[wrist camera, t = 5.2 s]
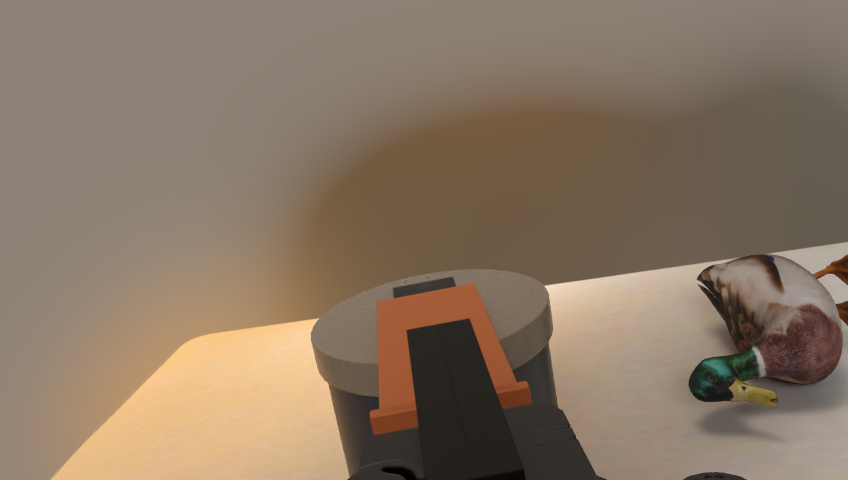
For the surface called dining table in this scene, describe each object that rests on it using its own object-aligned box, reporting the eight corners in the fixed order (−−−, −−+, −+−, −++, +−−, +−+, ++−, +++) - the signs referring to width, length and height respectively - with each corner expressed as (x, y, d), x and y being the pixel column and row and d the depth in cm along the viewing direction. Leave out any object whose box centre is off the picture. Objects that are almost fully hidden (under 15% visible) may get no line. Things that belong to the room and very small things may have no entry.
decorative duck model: (735, 359, 41) (572, 285, 54) (750, 475, 43) (591, 376, 56) (926, 258, 45) (733, 213, 59) (930, 367, 48) (744, 300, 61)
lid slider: (550, 520, 25) (529, 386, 24) (398, 550, 25) (369, 417, 23) (497, 379, 35) (480, 281, 34) (389, 400, 35) (369, 302, 34)
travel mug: (617, 633, 32) (576, 328, 29) (371, 683, 32) (299, 381, 29) (558, 492, 43) (522, 253, 39) (371, 528, 42) (318, 292, 39)
